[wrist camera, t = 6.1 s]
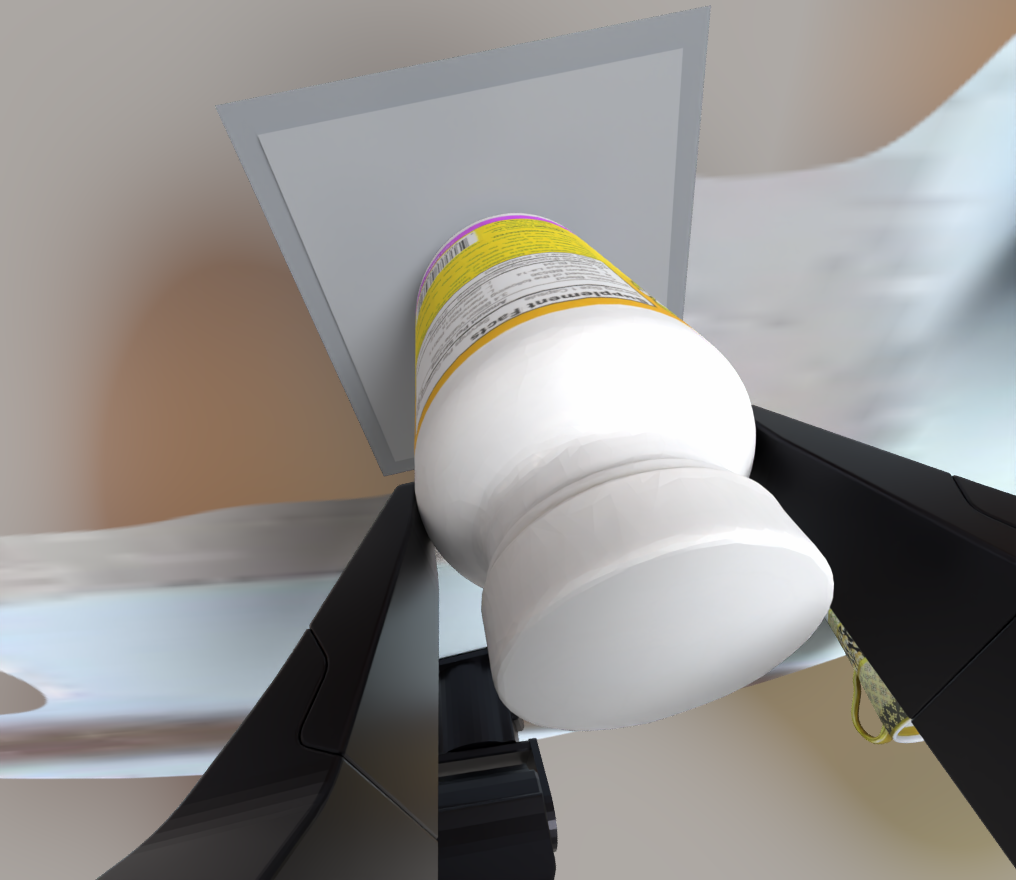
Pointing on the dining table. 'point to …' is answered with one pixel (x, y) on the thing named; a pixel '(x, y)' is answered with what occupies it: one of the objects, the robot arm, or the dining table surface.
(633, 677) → the supplement bottle
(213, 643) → the dining table surface
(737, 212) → the dining table surface
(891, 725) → the ceramic cup
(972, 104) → the dining table surface
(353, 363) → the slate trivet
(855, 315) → the dining table surface
